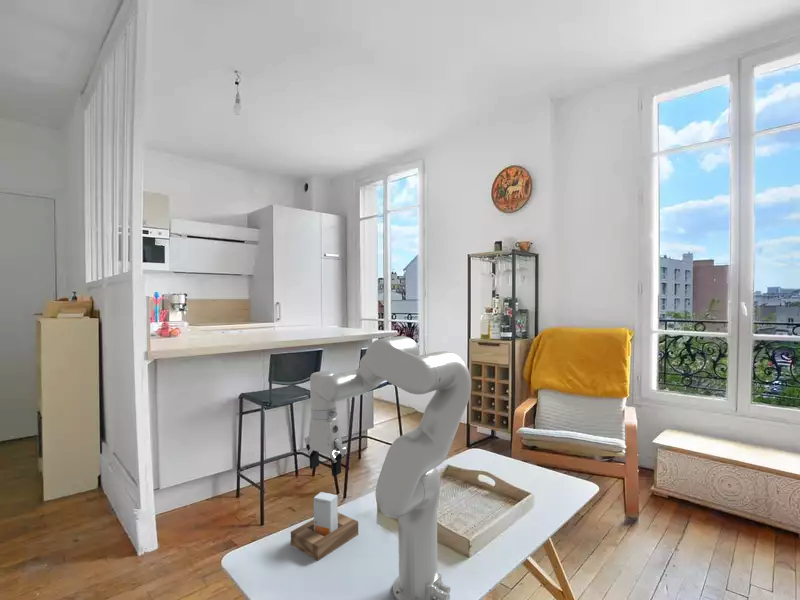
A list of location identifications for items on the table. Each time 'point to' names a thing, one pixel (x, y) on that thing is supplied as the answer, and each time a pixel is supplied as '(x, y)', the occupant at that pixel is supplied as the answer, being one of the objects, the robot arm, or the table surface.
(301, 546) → the socket block
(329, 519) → the skincare box
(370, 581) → the table surface
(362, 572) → the table surface
